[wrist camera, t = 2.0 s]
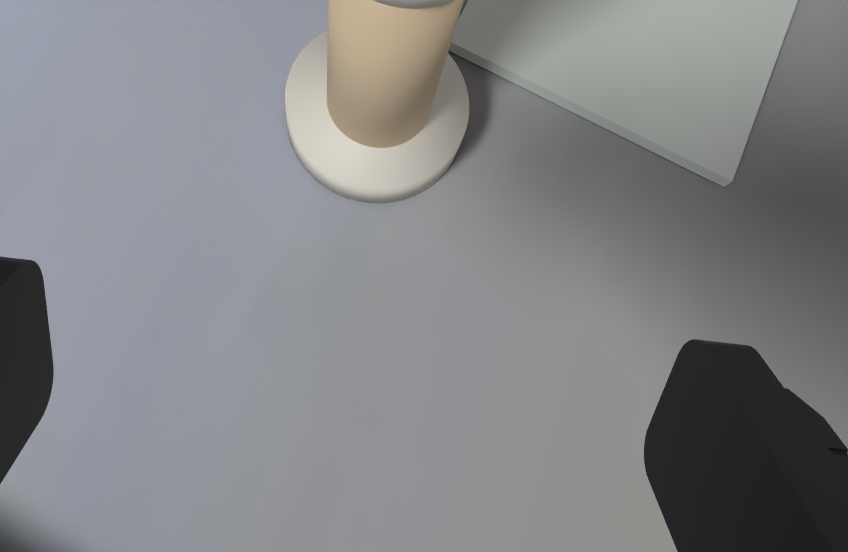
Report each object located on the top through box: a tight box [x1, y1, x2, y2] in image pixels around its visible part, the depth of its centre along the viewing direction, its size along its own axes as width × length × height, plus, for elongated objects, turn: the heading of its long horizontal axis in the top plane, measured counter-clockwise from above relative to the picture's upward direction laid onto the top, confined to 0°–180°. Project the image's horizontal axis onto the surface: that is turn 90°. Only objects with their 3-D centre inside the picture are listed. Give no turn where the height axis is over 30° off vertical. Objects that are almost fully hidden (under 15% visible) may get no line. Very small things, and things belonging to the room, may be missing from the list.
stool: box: [285, 0, 469, 203], centre depth 21 cm, size 6×6×11 cm
